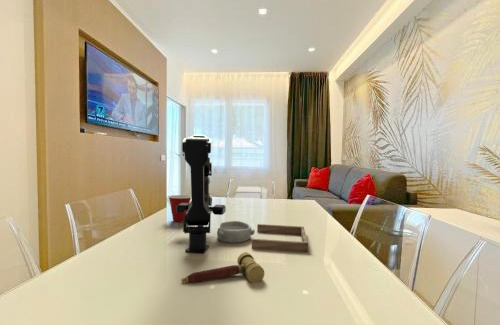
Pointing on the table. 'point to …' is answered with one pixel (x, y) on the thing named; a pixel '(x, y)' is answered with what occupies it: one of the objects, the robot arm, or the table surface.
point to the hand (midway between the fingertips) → (200, 230)
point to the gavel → (230, 271)
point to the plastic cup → (176, 201)
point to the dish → (234, 231)
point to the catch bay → (278, 243)
